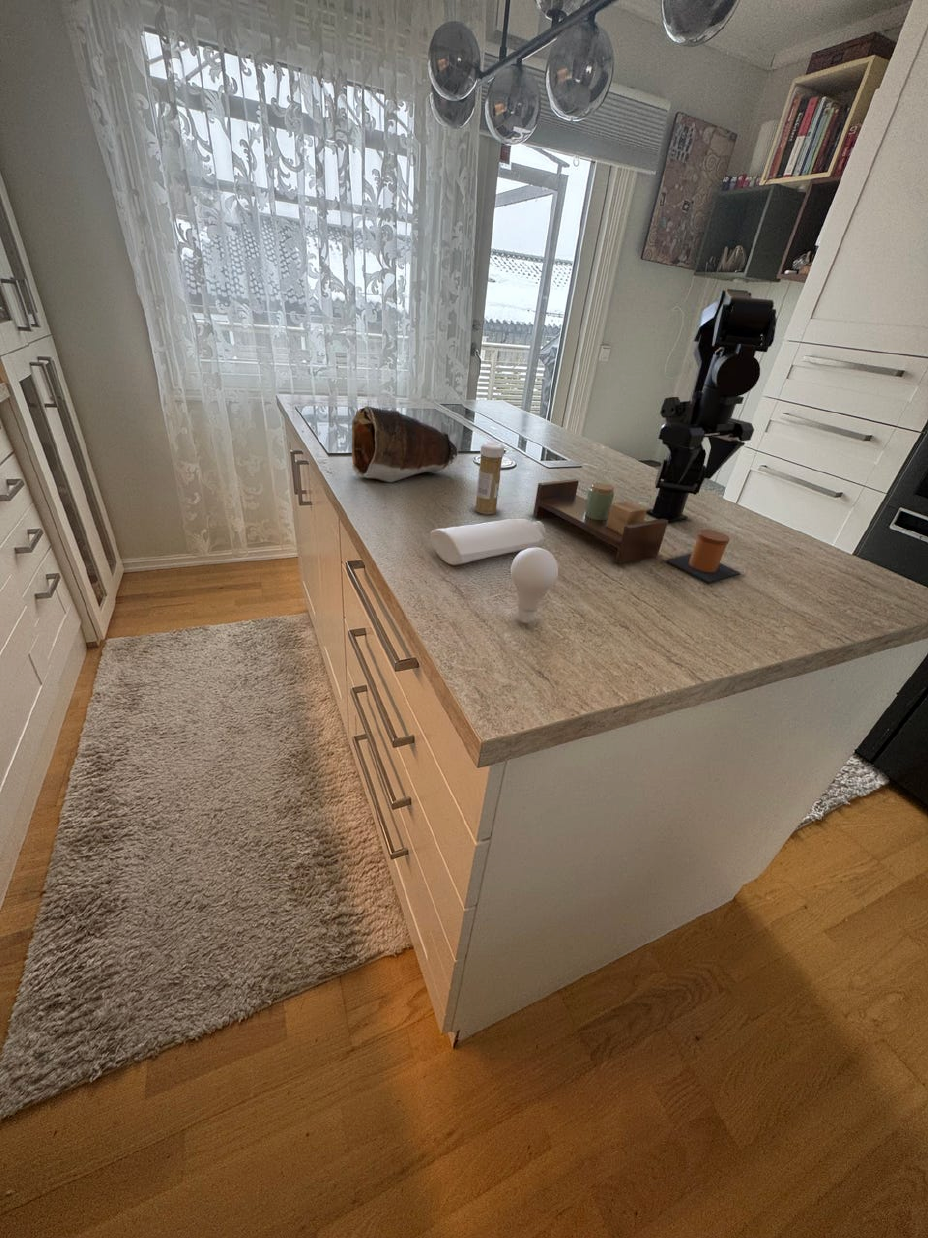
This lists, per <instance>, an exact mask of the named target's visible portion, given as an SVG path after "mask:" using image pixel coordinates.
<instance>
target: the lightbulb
mask: <svg viewBox="0 0 928 1238" xmlns="http://www.w3.org/2000/svg"><path fill="white" fill-rule="evenodd" d="M510 576H511V579H512V582H513V584H514V587H515V591H516V595H517V597H516V598H517V599H516V604H517V613H516V617H517V619H518V621H521V622H522V623H523V624H530V623H533V622H534V621H536V617H537V615H538V610H539V609H540V607H541V604H542V601H543V599H544V597H545V596H546V594H547V593H548V592H549V591H550V590H551V589H552V587H553V586H555V583H556V582H557V580H558V576H559V565H558V562H557V559H556V558H555V557H554V555H553V554H552V553H551V552H550V551H548V550H547V549H544V548H542V547H539V546H538V547H533V548H528V549H525V550H522V551H519V552H518V554H517V555H516V556H515V557H514V559H513V560H512V563H511V567H510Z"/></svg>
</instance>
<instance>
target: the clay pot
mask: <svg viewBox="0 0 928 1238" xmlns="http://www.w3.org/2000/svg"><path fill="white" fill-rule="evenodd" d="M458 456H459V451H458V448H457V446H456V445H455V443H454V442H452V441H451V440H450V437H449V434H448V433H446V432H445V431H440V430H438V429H437V428H435V427H434V426H431V425H430V424H429V423H426V422H423V421H420V420H419V419H417V418H415V417H411V416H408V415H406V414H403V413H401V412H400V411H399V410H390V409H389V410H388V409H383V408H378V407H373V406H364V407H362V408H359V409H358V410H357V411H356V412H355V414H354V418H353V419H352V422H351V460H352V469H353V471H354V473H355V475H356V476H357V477H359V478H366V479H372V480H376V481H381V482H386V483H389V484H390V483H394V482H397V481H400V480H402V479H405V478H407V477H411V476H414V475H417V474H421V473H425V472H432V473H439V472H441V471H443V470H445V469H446V468H447V467H450V466H451V465H452V464H453V463H455V460H456V459H458Z"/></svg>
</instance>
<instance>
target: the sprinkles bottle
mask: <svg viewBox="0 0 928 1238" xmlns="http://www.w3.org/2000/svg"><path fill="white" fill-rule="evenodd" d="M479 450H480V451H479V454H480V459H479V460H480V461H479V469H478V476H477V487H476V498H475V499H476V500H475V507H474V510H475V512H477V513H478V514H481V515H494V514H495V513H496V512H497V505H498V497H499V491H500V480H501V470H502V462H503V457H504V453H505V446H504V445H503V444H500V443H496V442H483V443H482V444H481V445H480V449H479Z"/></svg>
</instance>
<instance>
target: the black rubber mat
mask: <svg viewBox="0 0 928 1238" xmlns="http://www.w3.org/2000/svg"><path fill="white" fill-rule="evenodd" d="M691 555H692V553H690V554H686V555H681V556H677V557H674V558H669V559H666V560H665V563H666V564H669V565H671V566H672V567H674V568H677V569H678V570H680V571H682V572H684V573H686V574H688V575H689V576H691V577H694V578H695V579H698V580H700V581H701V582H703V583H705V584H707V585H711V584H714V583H717V582H720V581H723V580H728V579H730V578H733V577H736V576H740V575H741V572H740V571H738V570H736V569H733V568H731V567H729V566H728V565H725V564H722V563H721V562H720V563H719V566H718V568H717V570H716V571H715V572H704V571H700V570H697V569H695V568H693V567H691V566H690V565H689V560H690V558H691Z"/></svg>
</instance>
